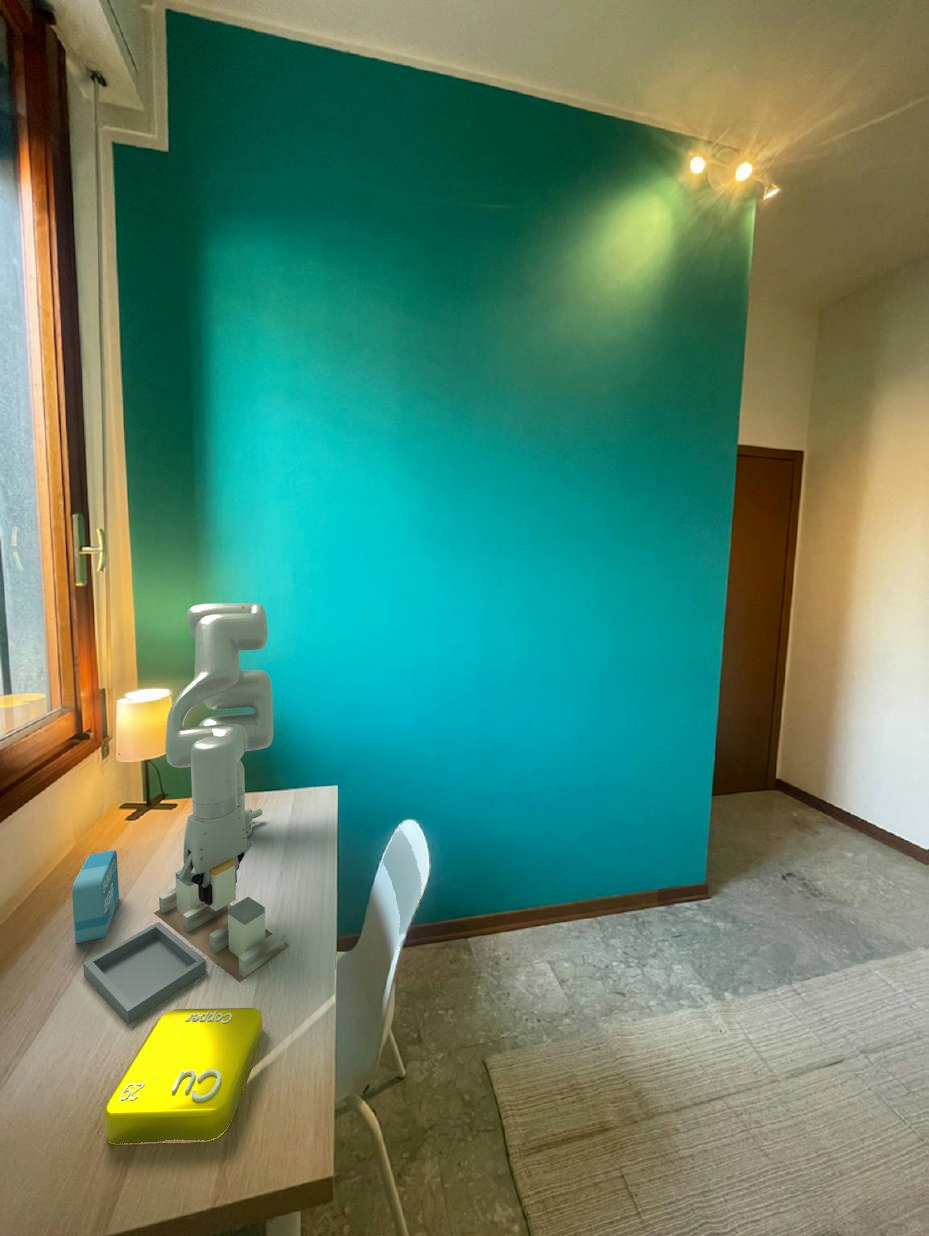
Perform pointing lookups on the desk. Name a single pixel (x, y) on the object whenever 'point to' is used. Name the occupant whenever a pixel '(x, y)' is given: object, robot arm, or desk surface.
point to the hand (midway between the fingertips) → (218, 894)
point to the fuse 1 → (186, 894)
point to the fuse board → (218, 936)
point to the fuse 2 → (245, 925)
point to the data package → (95, 896)
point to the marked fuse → (223, 884)
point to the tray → (144, 971)
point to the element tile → (185, 1077)
